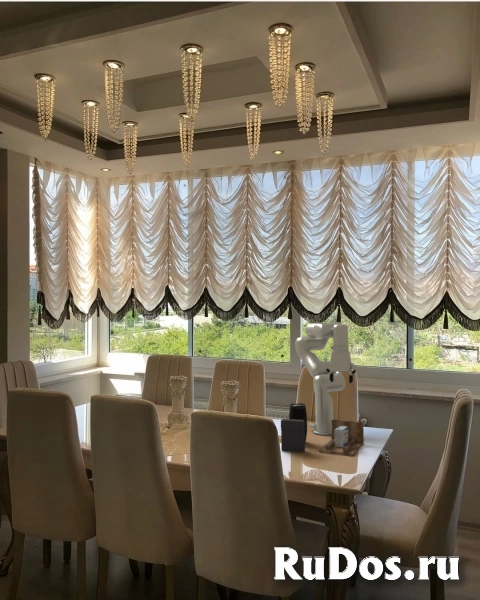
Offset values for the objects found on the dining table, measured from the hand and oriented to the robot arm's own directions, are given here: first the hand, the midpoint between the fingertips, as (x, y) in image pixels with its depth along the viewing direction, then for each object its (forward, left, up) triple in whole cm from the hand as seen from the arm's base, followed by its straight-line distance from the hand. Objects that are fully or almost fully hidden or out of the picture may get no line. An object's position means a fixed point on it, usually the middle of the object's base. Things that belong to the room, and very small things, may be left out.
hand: (341, 382), depth 270 cm
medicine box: (+3, -11, -29) cm, 31 cm away
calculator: (-17, -25, -31) cm, 43 cm away
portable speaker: (-20, -10, -31) cm, 38 cm away
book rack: (+3, -11, -30) cm, 32 cm away
